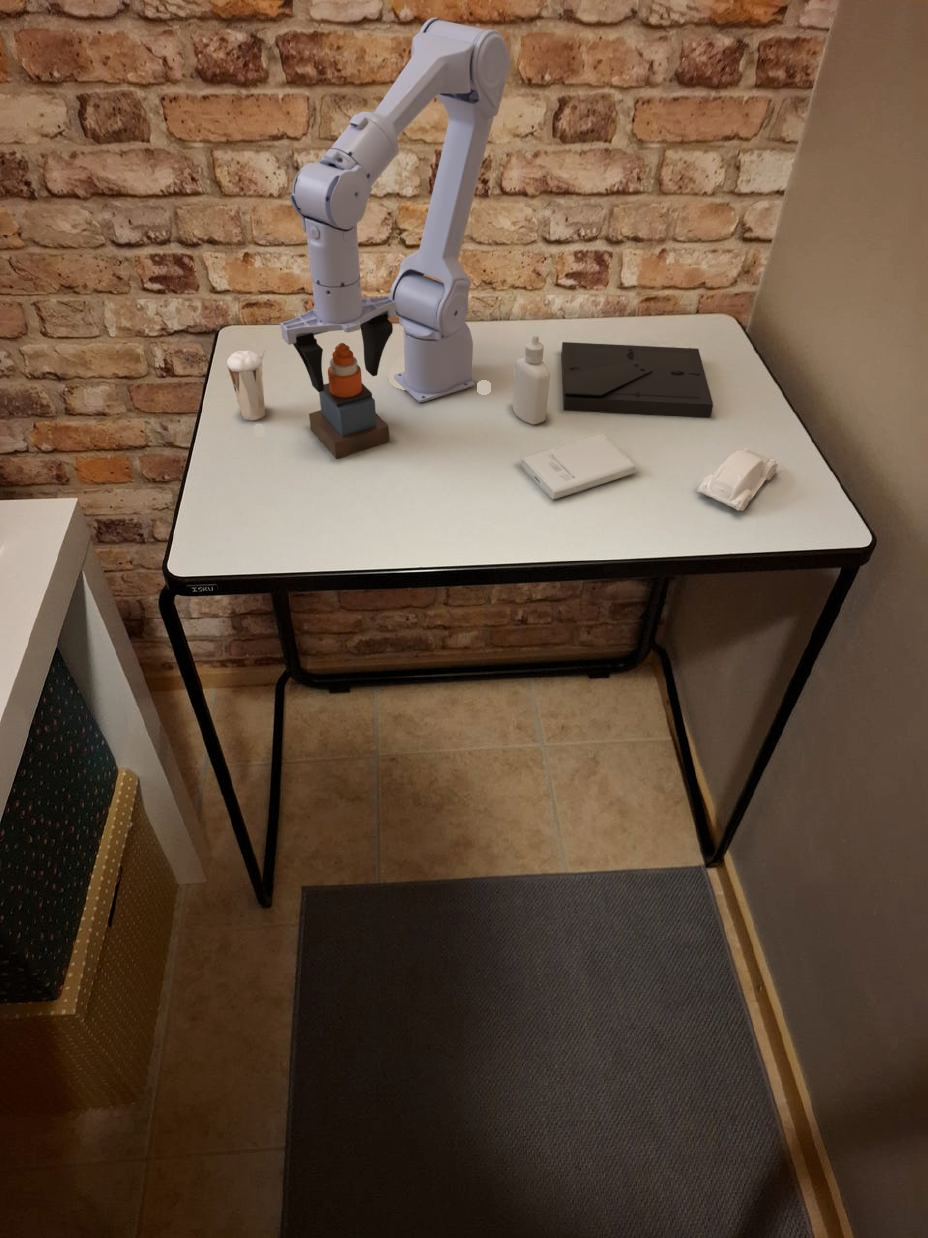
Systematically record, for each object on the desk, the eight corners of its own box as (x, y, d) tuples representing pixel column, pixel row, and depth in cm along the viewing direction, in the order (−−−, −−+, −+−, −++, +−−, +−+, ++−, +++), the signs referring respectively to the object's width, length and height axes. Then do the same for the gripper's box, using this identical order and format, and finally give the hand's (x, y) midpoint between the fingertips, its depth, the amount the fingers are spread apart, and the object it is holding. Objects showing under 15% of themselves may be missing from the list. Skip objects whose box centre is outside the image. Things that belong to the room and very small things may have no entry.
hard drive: (634, 475, 111) (553, 501, 107) (598, 442, 116) (520, 466, 112) (636, 465, 110) (554, 491, 106) (600, 432, 115) (521, 456, 111)
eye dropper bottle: (541, 403, 123) (549, 325, 114) (546, 425, 119) (554, 346, 110) (511, 404, 122) (516, 325, 114) (515, 426, 119) (521, 346, 110)
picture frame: (563, 410, 122) (709, 417, 121) (565, 392, 120) (714, 399, 119) (561, 354, 132) (695, 360, 132) (562, 337, 130) (699, 344, 130)
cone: (354, 379, 114) (350, 330, 109) (372, 396, 111) (369, 347, 106) (320, 389, 112) (314, 339, 107) (337, 407, 109) (332, 357, 104)
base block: (362, 413, 120) (361, 397, 118) (389, 441, 115) (389, 425, 114) (310, 429, 117) (308, 413, 115) (336, 459, 112) (334, 443, 111)
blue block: (354, 402, 117) (352, 376, 114) (376, 426, 113) (375, 399, 111) (321, 413, 115) (318, 386, 112) (342, 436, 112) (340, 410, 109)
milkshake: (269, 426, 117) (257, 359, 110) (232, 421, 118) (218, 354, 111) (280, 408, 120) (270, 342, 113) (244, 403, 121) (232, 337, 114)
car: (737, 518, 106) (746, 488, 102) (692, 497, 108) (700, 467, 105) (780, 474, 112) (791, 444, 109) (737, 455, 115) (746, 426, 111)
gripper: (292, 304, 95) (306, 410, 105) (406, 276, 101) (409, 379, 111) (267, 279, 99) (283, 383, 109) (378, 254, 105) (383, 355, 115)
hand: (345, 380), depth 110 cm, fingers open, 7 cm apart
